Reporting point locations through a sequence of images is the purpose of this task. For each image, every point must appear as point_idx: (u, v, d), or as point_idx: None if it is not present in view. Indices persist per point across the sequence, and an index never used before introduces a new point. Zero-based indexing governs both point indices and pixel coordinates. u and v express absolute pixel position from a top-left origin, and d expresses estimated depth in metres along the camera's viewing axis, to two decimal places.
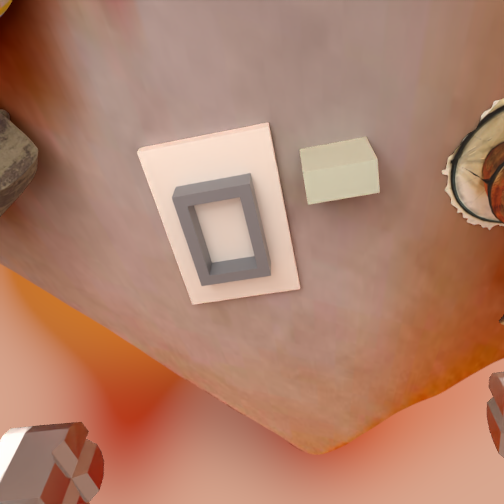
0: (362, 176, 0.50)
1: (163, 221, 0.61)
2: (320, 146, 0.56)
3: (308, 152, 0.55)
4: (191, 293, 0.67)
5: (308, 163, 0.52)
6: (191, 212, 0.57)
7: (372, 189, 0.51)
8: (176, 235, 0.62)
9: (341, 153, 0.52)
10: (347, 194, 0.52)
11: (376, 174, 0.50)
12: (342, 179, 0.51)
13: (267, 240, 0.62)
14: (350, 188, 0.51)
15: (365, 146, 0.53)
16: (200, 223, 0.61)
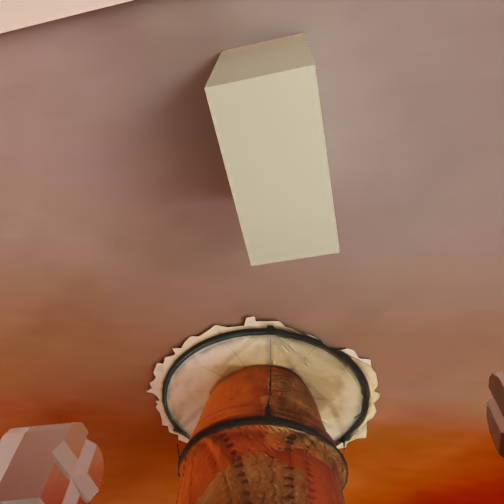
0: (294, 224, 0.20)
1: None
2: None
3: None
4: None
5: None
6: None
7: (259, 250, 0.21)
8: None
9: None
10: (243, 196, 0.19)
11: (299, 254, 0.21)
12: (287, 179, 0.19)
13: None
14: (262, 202, 0.19)
15: None
16: None
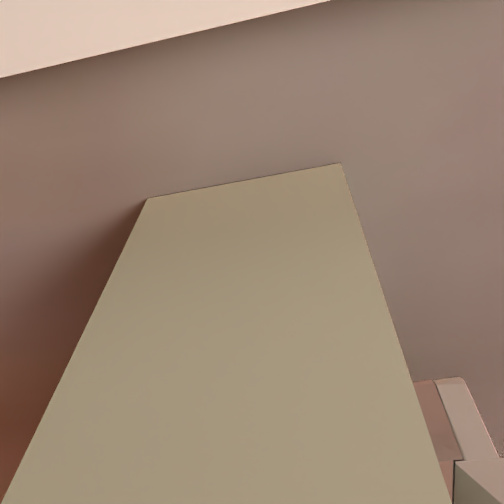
0: None
1: None
2: None
3: None
4: None
5: None
6: None
7: None
8: None
9: None
10: None
11: None
12: None
13: None
14: None
15: None
16: None
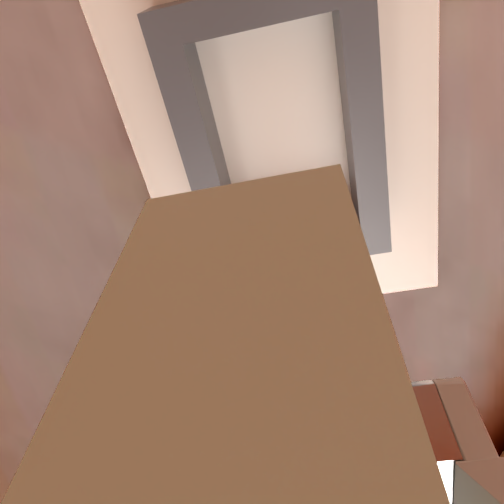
0: None
1: (435, 141, 0.24)
2: None
3: None
4: None
5: None
6: (355, 200, 0.24)
7: None
8: (413, 100, 0.23)
9: None
10: None
11: None
12: None
13: None
14: None
15: None
16: (342, 136, 0.24)
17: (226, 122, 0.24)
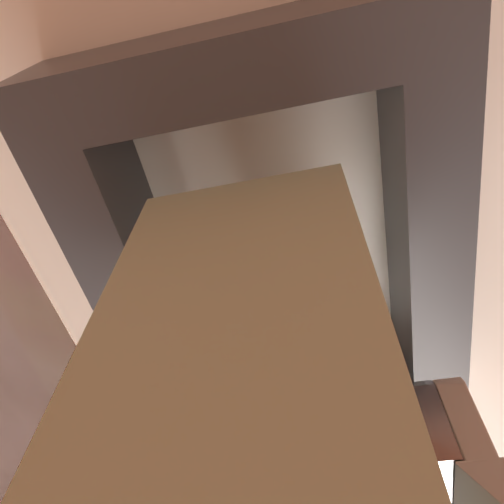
0: None
1: None
2: None
3: None
4: None
5: None
6: None
7: None
8: None
9: None
10: None
11: None
12: None
13: None
14: None
15: None
16: (384, 266, 0.15)
17: None
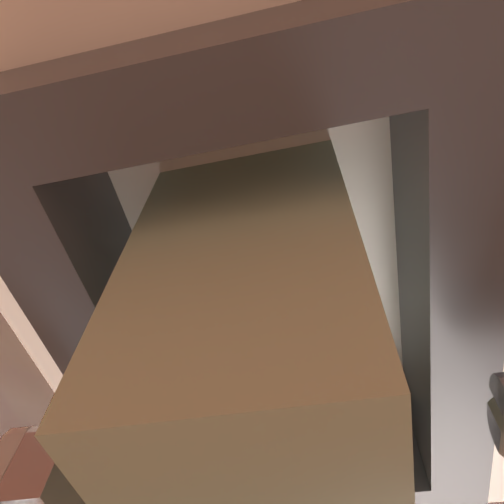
0: None
1: None
2: None
3: None
4: None
5: None
6: (421, 428, 0.13)
7: None
8: None
9: None
10: None
11: None
12: None
13: None
14: None
15: None
16: (395, 303, 0.13)
17: None
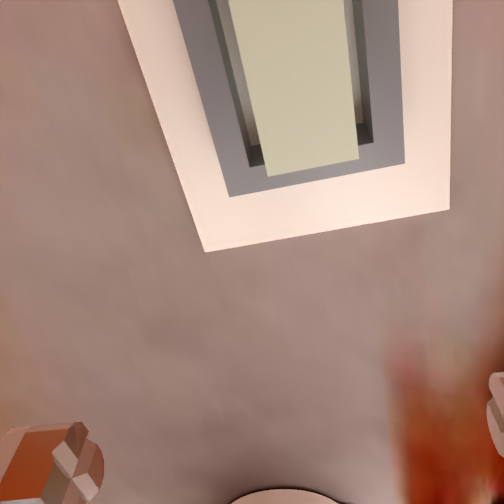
0: (313, 128, 0.19)
1: (448, 48, 0.24)
2: None
3: None
4: None
5: None
6: (368, 110, 0.24)
7: (276, 158, 0.20)
8: (426, 2, 0.23)
9: None
10: (261, 96, 0.19)
11: (317, 162, 0.20)
12: (306, 75, 0.18)
13: None
14: (280, 103, 0.19)
15: None
16: (354, 45, 0.24)
17: None
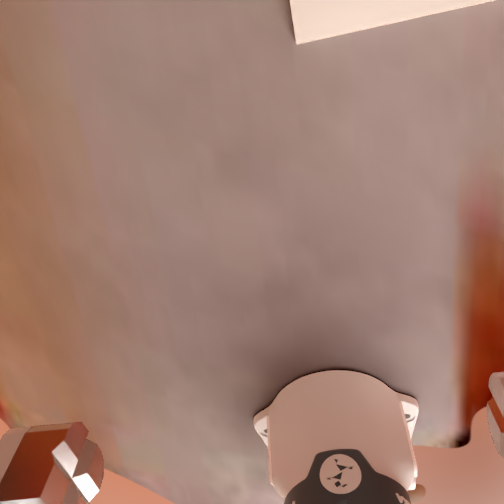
0: None
1: None
2: None
3: None
4: None
5: None
6: None
7: None
8: None
9: None
10: None
11: None
12: None
13: None
14: None
15: None
16: None
17: None
